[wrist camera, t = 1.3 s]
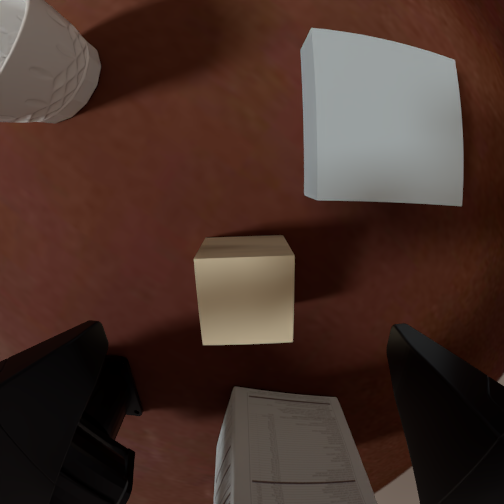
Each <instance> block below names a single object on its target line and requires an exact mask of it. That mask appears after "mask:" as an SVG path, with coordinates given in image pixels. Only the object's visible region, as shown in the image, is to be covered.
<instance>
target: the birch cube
mask: <svg viewBox="0 0 504 504" xmlns="http://www.w3.org/2000/svg"><path fill="white" fill-rule="evenodd" d="M194 267H195V278H196V289H197V299H198V308H199V317H200V326H201V335H202V343H203V345H242V344H268V343H286V342H293V321H294V273H295V255H294V253H293V252H292V250H291V248H290V247H289V245H288V243H287V241H286V240H285V238H284V236H283V235H270V236H241V237H214V238H205V240H204V242H203V244H202V245H201V247H200V249H199V251H198V252H197V254H196V256H195V258H194Z"/></svg>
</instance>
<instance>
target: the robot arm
mask: <svg viewBox="0 0 504 504" xmlns="http://www.w3.org/2000/svg"><path fill="white" fill-rule="evenodd" d="M107 350H108V340H107V337H106V334H105V331H104V328H103V326H102V324H101V322H99V321H92V320H89V321H87V322H85V323H82V324H80V325H78V326H76V327H74V328H72V329H69V330H67V331H65V332H63V333H61V334H59V335H56V336H54V337H52V338H50V339H48V340H46V341H44V342H41V343H39V344H37V345H35V346H33V347H31V348H28V349H26V350H24V351H22V352H20V353H18V354H16V355H13V356H11V357H9V358H8V359H5V360H3V361H1V362H0V504H126V503H127V501H128V499H129V497H130V494H131V491H132V485H133V471H134V458H135V452H134V451H132V450H131V449H129V448H128V449H127V448H126V447H124V446H123V445H121V444H120V443H118V442H117V441H115V438H116V436H117V434H118V431H119V429H120V426H121V424H122V422H123V419H124V417H125V415H126V414H127V415H135V416H141V415H142V412H143V409H142V406H141V403H140V400H139V397H138V393H137V390H136V387H135V384H134V380H133V377H132V373H131V370H130V366H129V363H128V360H127V359H126V358H125V357H122V356H110V355H106V353H107ZM387 358H388V363H389V368H390V374H391V379H392V385H393V391H394V396H395V400H396V404H397V407H398V411H399V414H400V418H401V422H402V425H403V429H404V433H405V437H406V441H407V445H408V449H409V453H410V457H411V462H412V466H413V470H414V475H415V480H416V484H417V490H418V494H419V500H420V504H504V386H503V385H501V384H499V383H498V382H496V381H495V380H493V379H492V378H490V377H487V375H486V374H484V373H483V372H481V371H479V370H478V369H476V368H475V367H473V366H472V365H470V364H469V363H467V362H466V361H464V360H463V359H461V358H459V357H458V356H456V355H455V354H453V353H452V352H450V351H448V350H447V349H445V348H444V347H442V346H441V345H439V344H437V343H436V342H434V341H433V340H431V339H430V338H428V337H426V336H425V335H423V334H422V333H420V332H419V331H417V330H415V329H414V328H412V327H411V326H409V325H407V324H405V323H404V324H394V325H393V326H392V328H391V331H390V336H389V340H388V344H387ZM121 362H123V363H124V364H122V363H121Z"/></svg>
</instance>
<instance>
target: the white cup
mask: <svg viewBox="0 0 504 504" xmlns="http://www.w3.org/2000/svg"><path fill="white" fill-rule="evenodd" d="M100 70H101V63H100V59H99V55H98V51H97V50H96V49H95V48H94V47H93V46H92V45H91V44H89V43H88V42H87V41H86V40H85V39H84V38H83V37H82V36H81V35H80V33H79V31H78V30H77V29H76V28H75V27H74V26H73V25H72V24H71V23H70V22H69V21H68V20H66V19H65V18H64V17H63V16H62V15H61V14H60V13H58V12H57V11H56V10H55V9H54V8H53V7H52V6H50V5H49V4H48V3H47V2H46V1H44V0H0V122H27V123H28V122H46V123H58V122H60V121H63V120H66V119H68V118H71V117H72V116H74V115H75V114H76V113H77V112H78V111H79V110H80V109H81V108H82V107H83V106H85V105H86V104H87V102H88V100H89V99H90V97H91V95H92V93H93V92H94V90H95V88H96V87H97V84H98V79H99V74H100Z"/></svg>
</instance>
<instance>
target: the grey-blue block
mask: <svg viewBox="0 0 504 504" xmlns="http://www.w3.org/2000/svg"><path fill="white" fill-rule="evenodd" d="M300 52H301V70H302V92H303V123H304V195H305V196H308V197H310V198H313V199H315V200H328V201H371V202H397V203H417V204H434V205H449V206H462V198H463V129H462V114H461V103H460V94H459V85H458V78H457V71H456V65H455V60H453V59H451V58H448V57H445V56H442V55H439V54H436V53H433V52H430V51H426V50H423V49H420V48H416V47H413V46H409V45H405V44H401V43H397V42H393V41H389V40H385V39H380V38H375V37H370V36H365V35H360V34H354V33H348V32H341V31H334V30H326V29H317V28H311V29H310V31H309V33H308V36H307V38H306V40H305V42H304V44H303V46H302V48H301V50H300Z"/></svg>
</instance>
